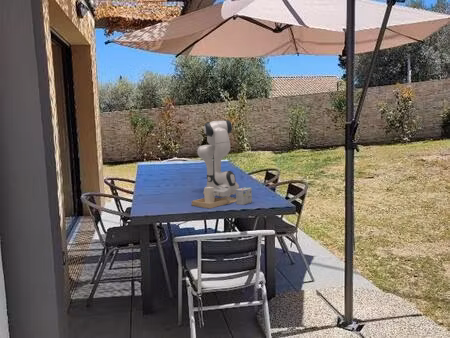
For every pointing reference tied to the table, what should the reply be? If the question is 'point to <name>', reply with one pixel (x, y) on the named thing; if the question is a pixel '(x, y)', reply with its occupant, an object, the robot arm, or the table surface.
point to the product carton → (209, 194)
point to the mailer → (215, 204)
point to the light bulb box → (243, 196)
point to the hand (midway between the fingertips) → (208, 193)
